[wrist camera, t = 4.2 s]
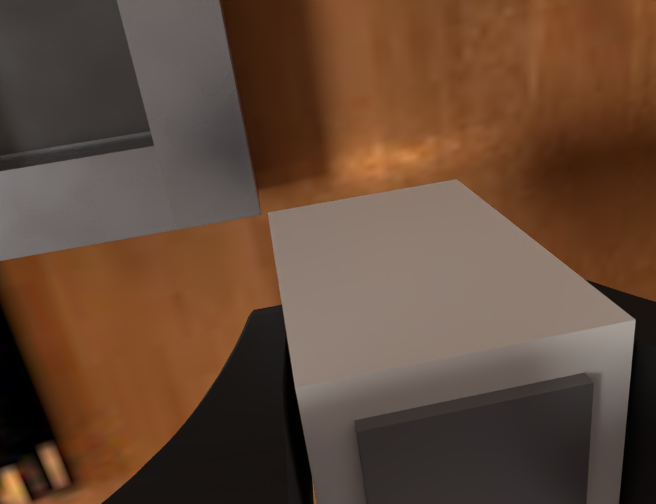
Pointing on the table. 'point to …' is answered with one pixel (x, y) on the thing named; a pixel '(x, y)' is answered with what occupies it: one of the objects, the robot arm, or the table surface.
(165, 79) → the socket
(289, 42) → the table surface
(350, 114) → the table surface
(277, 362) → the robot arm
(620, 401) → the plug
